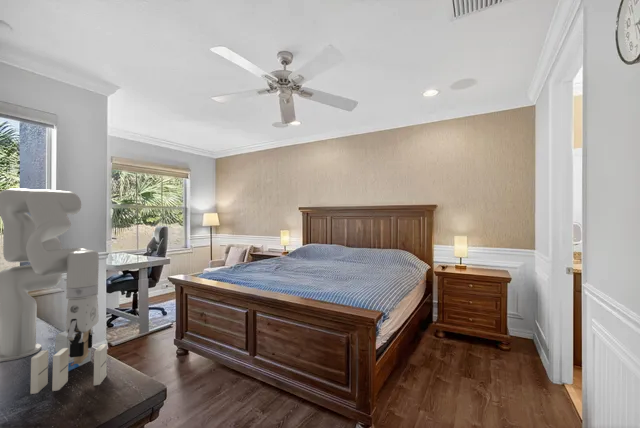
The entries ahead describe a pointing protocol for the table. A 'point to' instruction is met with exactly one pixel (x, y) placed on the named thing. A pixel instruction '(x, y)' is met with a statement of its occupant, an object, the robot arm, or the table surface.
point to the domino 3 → (85, 340)
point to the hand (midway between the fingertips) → (81, 351)
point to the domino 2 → (60, 369)
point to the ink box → (64, 343)
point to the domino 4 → (100, 364)
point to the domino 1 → (39, 371)
